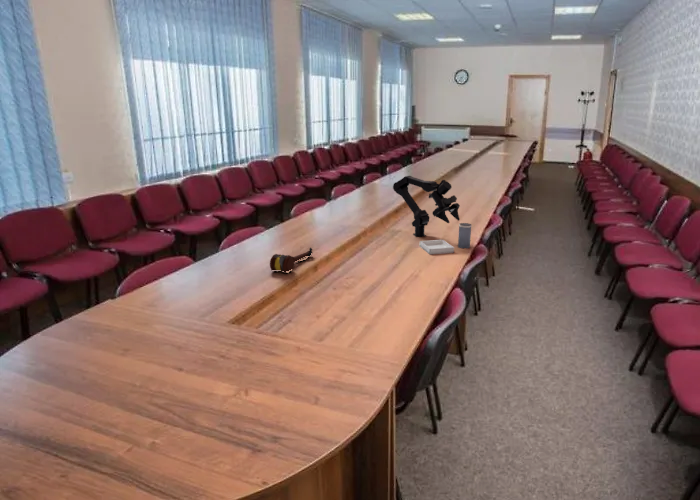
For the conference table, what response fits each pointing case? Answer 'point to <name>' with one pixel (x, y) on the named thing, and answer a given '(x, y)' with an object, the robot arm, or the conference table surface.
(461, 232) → the canister
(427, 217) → the robot arm
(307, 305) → the conference table surface
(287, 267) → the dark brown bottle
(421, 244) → the tray
